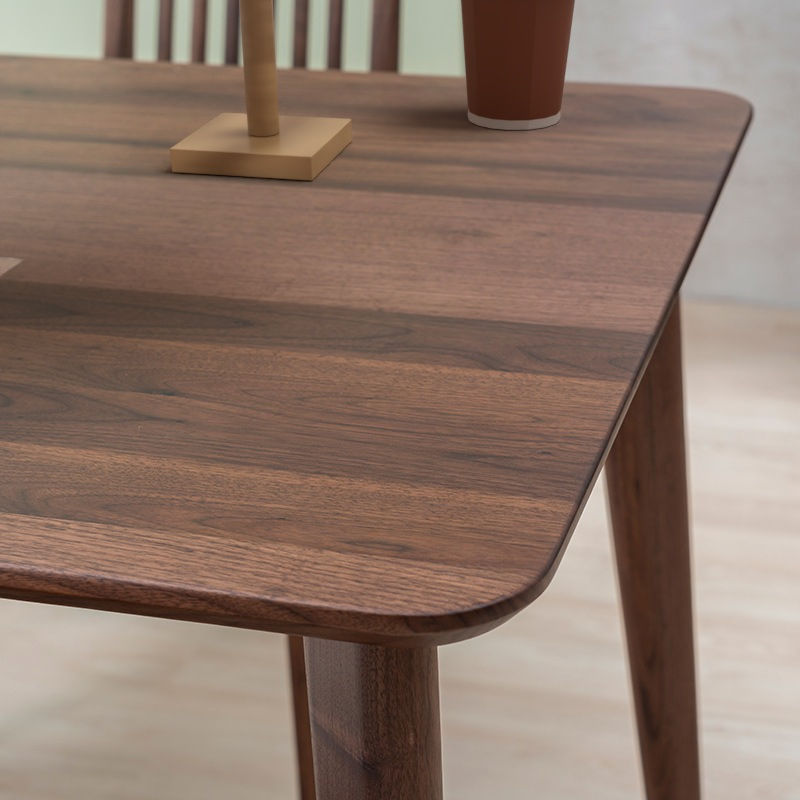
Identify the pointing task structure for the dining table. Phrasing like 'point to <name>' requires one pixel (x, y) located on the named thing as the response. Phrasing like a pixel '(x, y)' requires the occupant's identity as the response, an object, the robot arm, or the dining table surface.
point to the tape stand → (261, 121)
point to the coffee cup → (515, 61)
